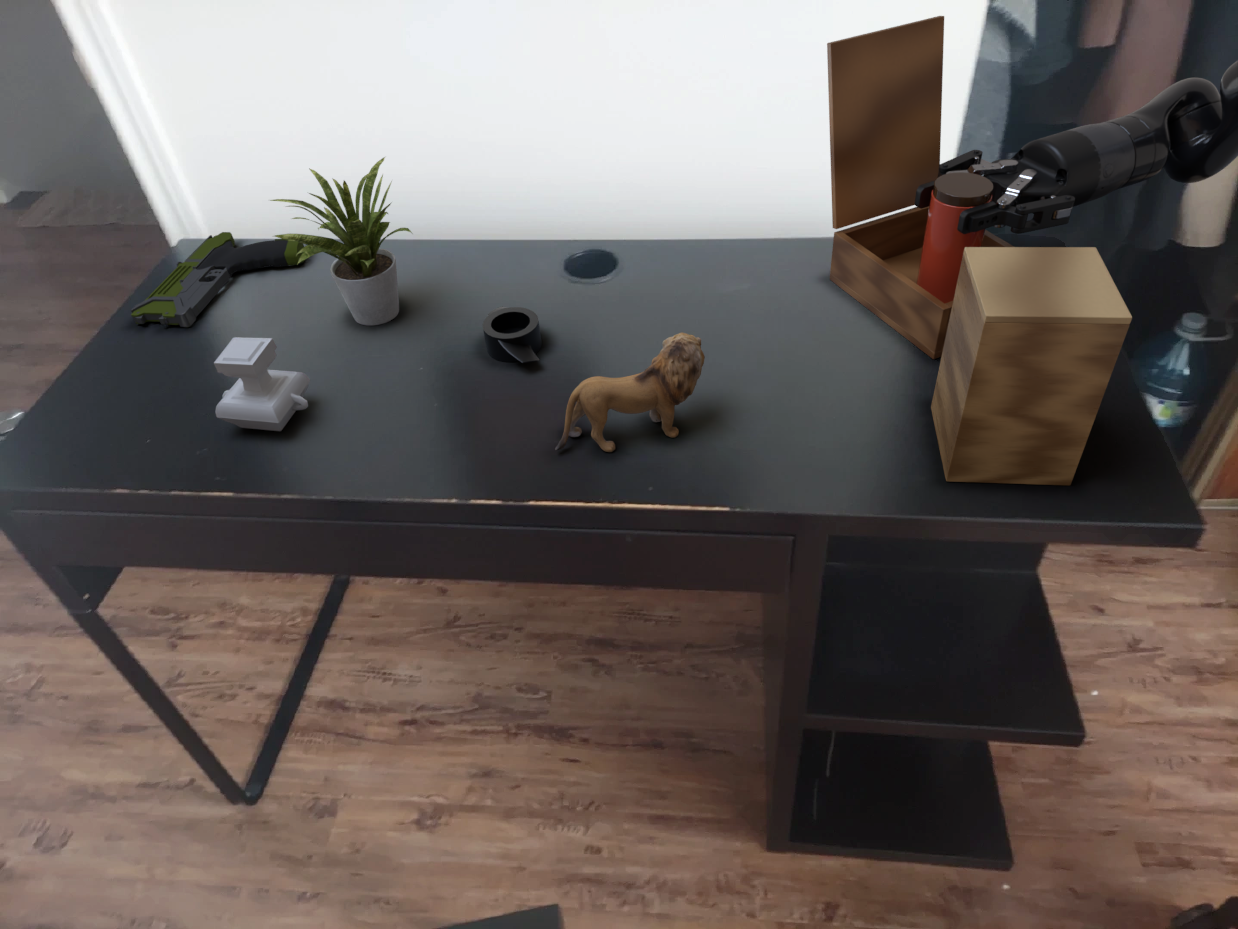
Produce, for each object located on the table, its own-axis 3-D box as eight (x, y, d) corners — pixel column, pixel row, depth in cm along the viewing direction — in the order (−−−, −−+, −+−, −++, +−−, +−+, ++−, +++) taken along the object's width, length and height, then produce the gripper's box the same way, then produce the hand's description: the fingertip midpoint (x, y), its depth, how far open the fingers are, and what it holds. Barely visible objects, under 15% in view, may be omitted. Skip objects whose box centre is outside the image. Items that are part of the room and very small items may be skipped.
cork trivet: (1094, 253, 73) (1096, 246, 72) (1130, 324, 65) (1132, 317, 65) (963, 253, 74) (964, 246, 74) (984, 322, 67) (986, 315, 66)
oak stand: (1044, 410, 84) (1094, 253, 73) (1070, 485, 76) (1130, 324, 65) (930, 407, 85) (963, 253, 74) (945, 481, 78) (984, 322, 67)
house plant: (352, 268, 111) (313, 137, 100) (457, 278, 108) (428, 143, 97) (291, 335, 101) (240, 197, 90) (405, 348, 98) (366, 206, 87)
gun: (248, 334, 102) (130, 330, 105) (318, 246, 115) (211, 245, 118) (240, 315, 100) (120, 312, 103) (311, 228, 114) (204, 227, 117)
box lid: (944, 15, 92) (916, 14, 95) (830, 43, 88) (805, 40, 92) (939, 197, 102) (913, 190, 105) (836, 229, 98) (813, 220, 101)
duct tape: (466, 372, 94) (460, 348, 92) (491, 317, 101) (487, 295, 99) (539, 375, 92) (535, 352, 90) (559, 320, 100) (556, 297, 98)
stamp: (328, 400, 92) (303, 330, 86) (299, 443, 87) (270, 372, 81) (247, 394, 93) (217, 324, 88) (214, 436, 89) (180, 365, 83)
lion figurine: (691, 394, 89) (690, 316, 82) (715, 426, 85) (716, 346, 79) (547, 438, 85) (535, 359, 79) (566, 473, 81) (554, 393, 75)
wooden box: (1040, 320, 94) (1054, 270, 90) (933, 359, 90) (943, 309, 86) (927, 246, 106) (936, 200, 102) (829, 279, 102) (834, 232, 98)
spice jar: (981, 291, 95) (1006, 182, 87) (951, 313, 93) (973, 203, 85) (934, 273, 99) (954, 166, 91) (904, 293, 96) (921, 186, 88)
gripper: (1118, 230, 91) (982, 277, 86) (1013, 177, 101) (886, 216, 96) (1142, 157, 86) (999, 202, 81) (1029, 108, 96) (896, 146, 91)
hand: (939, 210), depth 88 cm, fingers closed on spice jar, 5 cm apart
